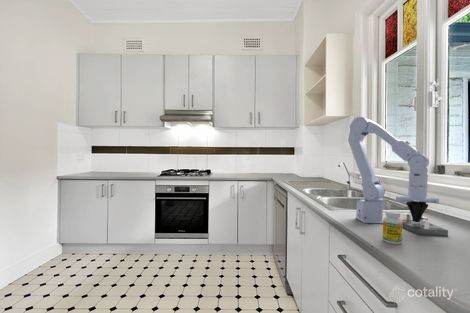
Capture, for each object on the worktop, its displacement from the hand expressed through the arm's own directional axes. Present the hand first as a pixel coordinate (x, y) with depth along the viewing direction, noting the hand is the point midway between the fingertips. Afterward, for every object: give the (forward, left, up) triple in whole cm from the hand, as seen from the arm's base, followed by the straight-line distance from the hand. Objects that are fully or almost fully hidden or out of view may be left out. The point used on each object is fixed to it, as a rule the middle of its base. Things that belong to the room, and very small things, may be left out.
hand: (416, 221), depth 96 cm
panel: (+2, 0, -3) cm, 3 cm away
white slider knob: (+3, 0, -1) cm, 3 cm away
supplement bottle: (-17, -15, -3) cm, 23 cm away
